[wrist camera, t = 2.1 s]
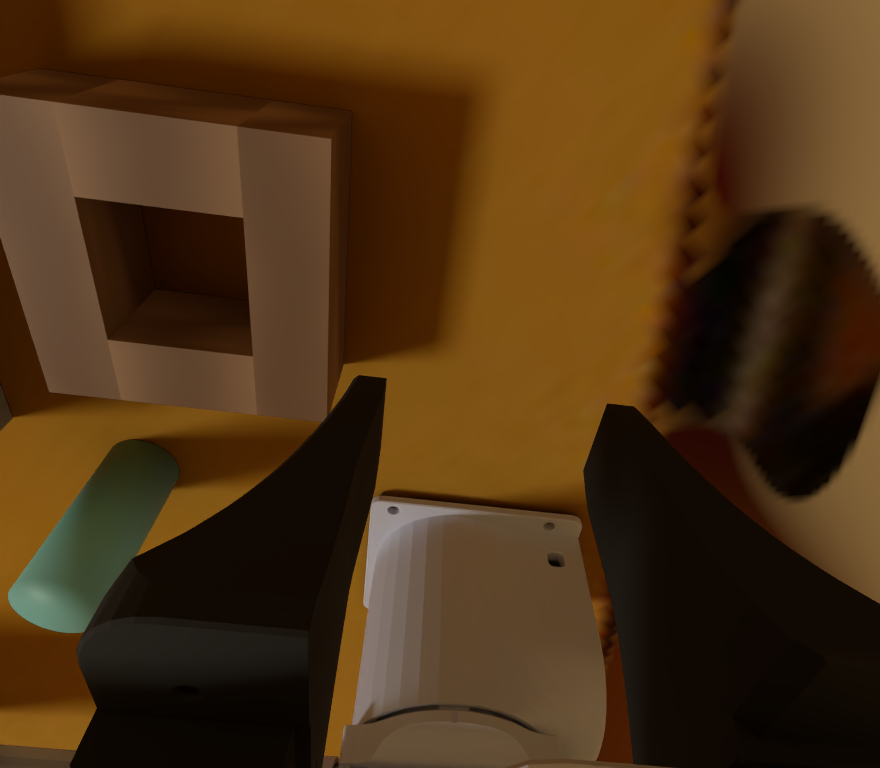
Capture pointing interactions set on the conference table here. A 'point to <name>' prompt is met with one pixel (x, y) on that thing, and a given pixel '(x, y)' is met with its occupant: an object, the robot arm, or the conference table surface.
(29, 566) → the dowel
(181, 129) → the hole block
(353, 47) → the conference table surface
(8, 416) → the backstop wall
